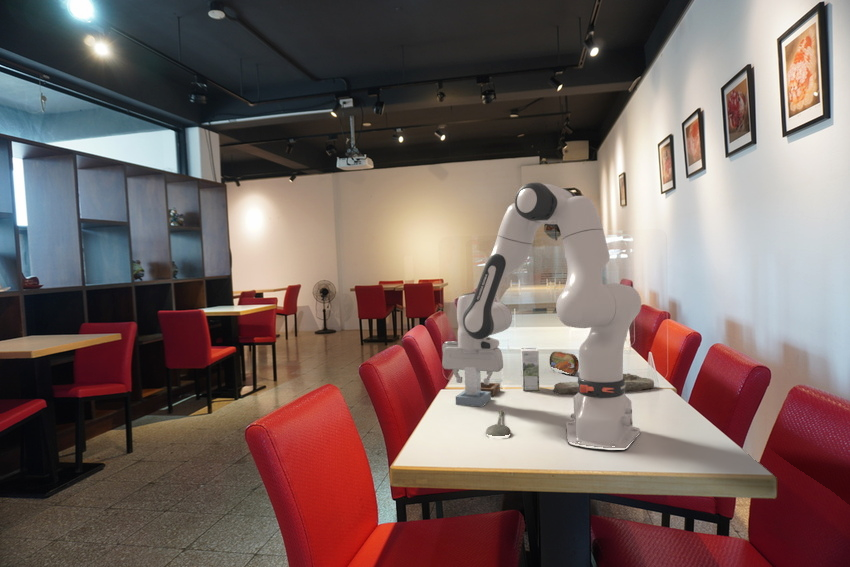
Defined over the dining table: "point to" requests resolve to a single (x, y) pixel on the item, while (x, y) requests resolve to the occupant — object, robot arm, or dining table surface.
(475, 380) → the steel peg
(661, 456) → the dining table surface
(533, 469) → the dining table surface
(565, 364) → the tin
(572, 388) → the elongated rock
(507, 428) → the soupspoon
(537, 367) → the syrup box
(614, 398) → the robot arm
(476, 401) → the pair of square sockets
